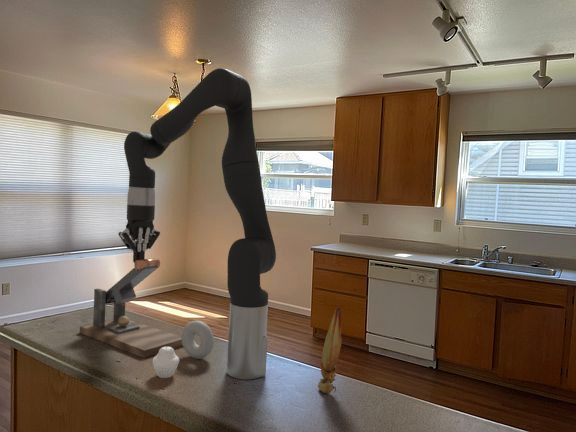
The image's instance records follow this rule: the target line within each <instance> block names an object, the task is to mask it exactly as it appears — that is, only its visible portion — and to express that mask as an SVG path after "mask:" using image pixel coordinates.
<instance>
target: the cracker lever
mask: <svg viewBox="0 0 576 432" xmlns="http://www.w3.org/2000/svg"><path fill="white" fill-rule="evenodd" d="M133 264H134V263H133ZM160 266H161V261H160V259H159V258H157V257H155V258H144V259H142V260H136V261H135V264H134V267H133V268H132V269H130V271H128V272H127V274H125V275H124V276H123V277H122V278H121V279H119V280H118V281H117V282H115V284H113V286H111V287H109V289H107V290H106V304H105V305H110V304H114V303H115V302H116V304H119V303H124V302H125V303H129V302H132V301H133V300H134V299H135V298H137V295H136V291H135V289H134V288H135V287H137V286H138V285H140V283H142V282H143V281H144V280H145V279H147V278H148V277H149V276H150V275H151V274H153V273H154V272H155V271H156V270H158V269H159V268H160Z"/></svg>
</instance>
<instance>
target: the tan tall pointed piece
mask: <svg viewBox="0 0 576 432" xmlns="http://www.w3.org/2000/svg"><path fill="white" fill-rule="evenodd" d="M342 316H343V314H342V310H341V308H340V307H339V306H337V307H336V308H335V310H334V313H333V317H332V318H331V321H330V324H329V328H328V330H327V333H326V336H325V340H324V344H323V350H322V353H321V361H322V362H320V364H319V368H320V374H321V377H322V378H320V381H318V384H317V388H318V390H319V391H321V392H322V393H324V394H328V395H329V394H331V393H332V392H333V390H334V392H336V390H337V389H336V386H334V385H333V382H334V381H336V379H335V378H336V376H337V374H336V372H337V369H338V368H337V365H338V364H337V361H338V359H339V355H340V352H341V348H342V342H343V336H342Z"/></svg>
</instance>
